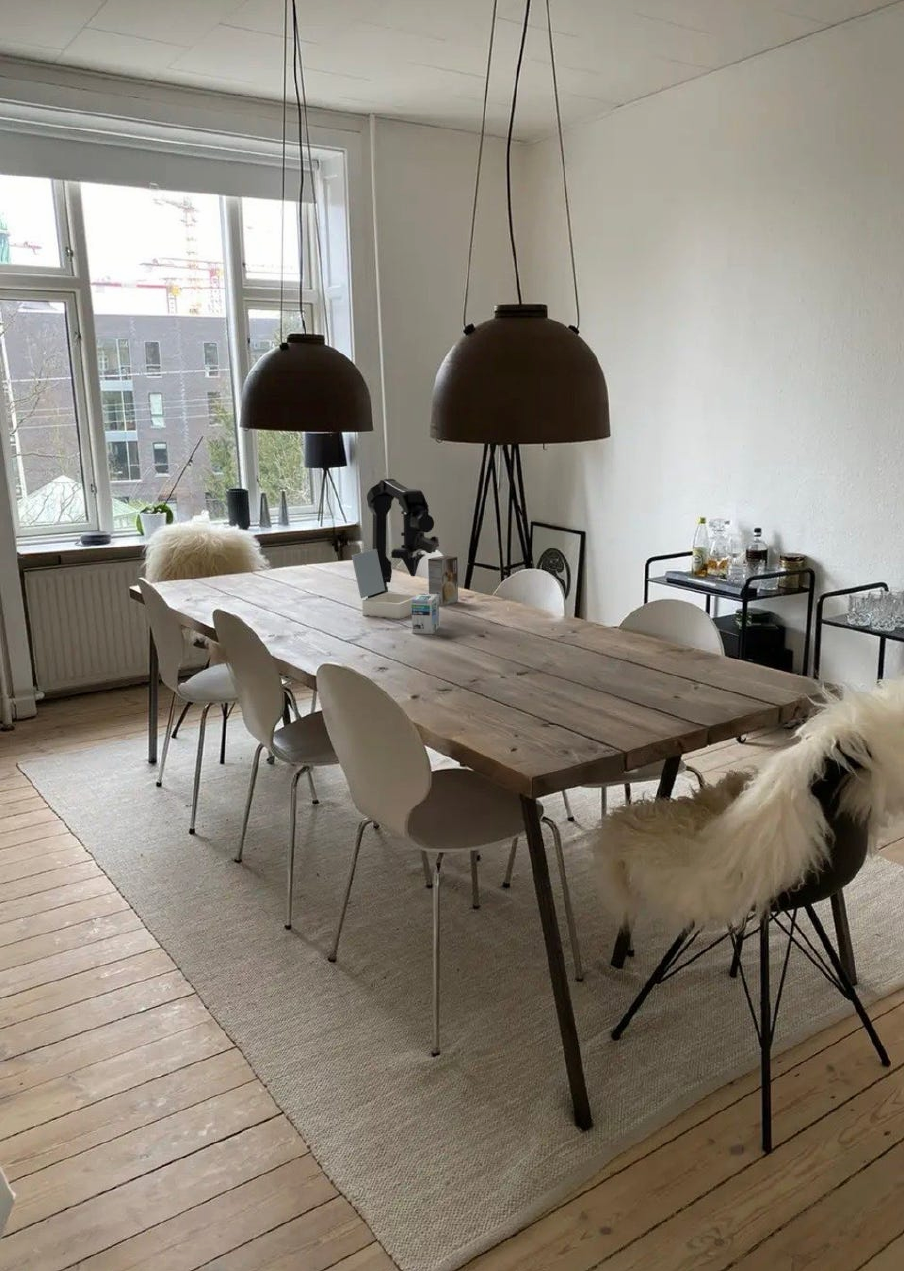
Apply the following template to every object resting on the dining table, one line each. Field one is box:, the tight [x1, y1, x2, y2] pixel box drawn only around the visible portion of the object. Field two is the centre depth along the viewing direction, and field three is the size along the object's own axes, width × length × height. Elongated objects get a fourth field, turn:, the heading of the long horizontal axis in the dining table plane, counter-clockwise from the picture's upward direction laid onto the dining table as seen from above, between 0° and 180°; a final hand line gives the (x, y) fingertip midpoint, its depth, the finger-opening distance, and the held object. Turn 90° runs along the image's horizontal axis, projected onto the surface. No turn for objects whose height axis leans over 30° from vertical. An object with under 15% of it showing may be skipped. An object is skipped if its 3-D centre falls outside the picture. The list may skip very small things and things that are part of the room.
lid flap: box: [351, 548, 385, 599], centre depth 332 cm, size 15×15×1 cm
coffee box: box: [427, 555, 459, 607], centre depth 345 cm, size 9×6×16 cm
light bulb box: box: [411, 592, 440, 635], centre depth 305 cm, size 11×7×11 cm, turn 168°
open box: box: [361, 591, 418, 620], centre depth 331 cm, size 14×16×5 cm
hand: (413, 576), depth 325 cm, fingers closed
